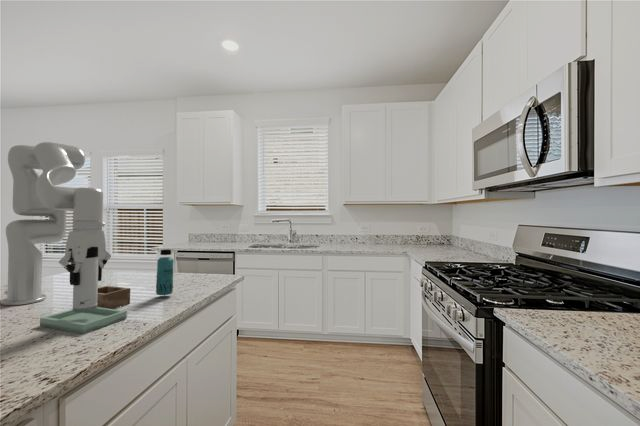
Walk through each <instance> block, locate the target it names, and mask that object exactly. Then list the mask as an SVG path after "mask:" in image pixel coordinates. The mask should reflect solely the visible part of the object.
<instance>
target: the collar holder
mask: <svg viewBox="0 0 640 426" xmlns="http://www.w3.org/2000/svg"><path fill="white" fill-rule="evenodd" d="M130 304H131V288H130V287H122V286H114V285H113V286H111V285H106V286H101V287H98V297H97V307H101V308H108V309H114V308H115V309H117V307H118V308H121V307H123V306H124V305H125V306H127V305H130ZM120 306H121V307H120ZM125 306H124V307H125Z"/></svg>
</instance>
